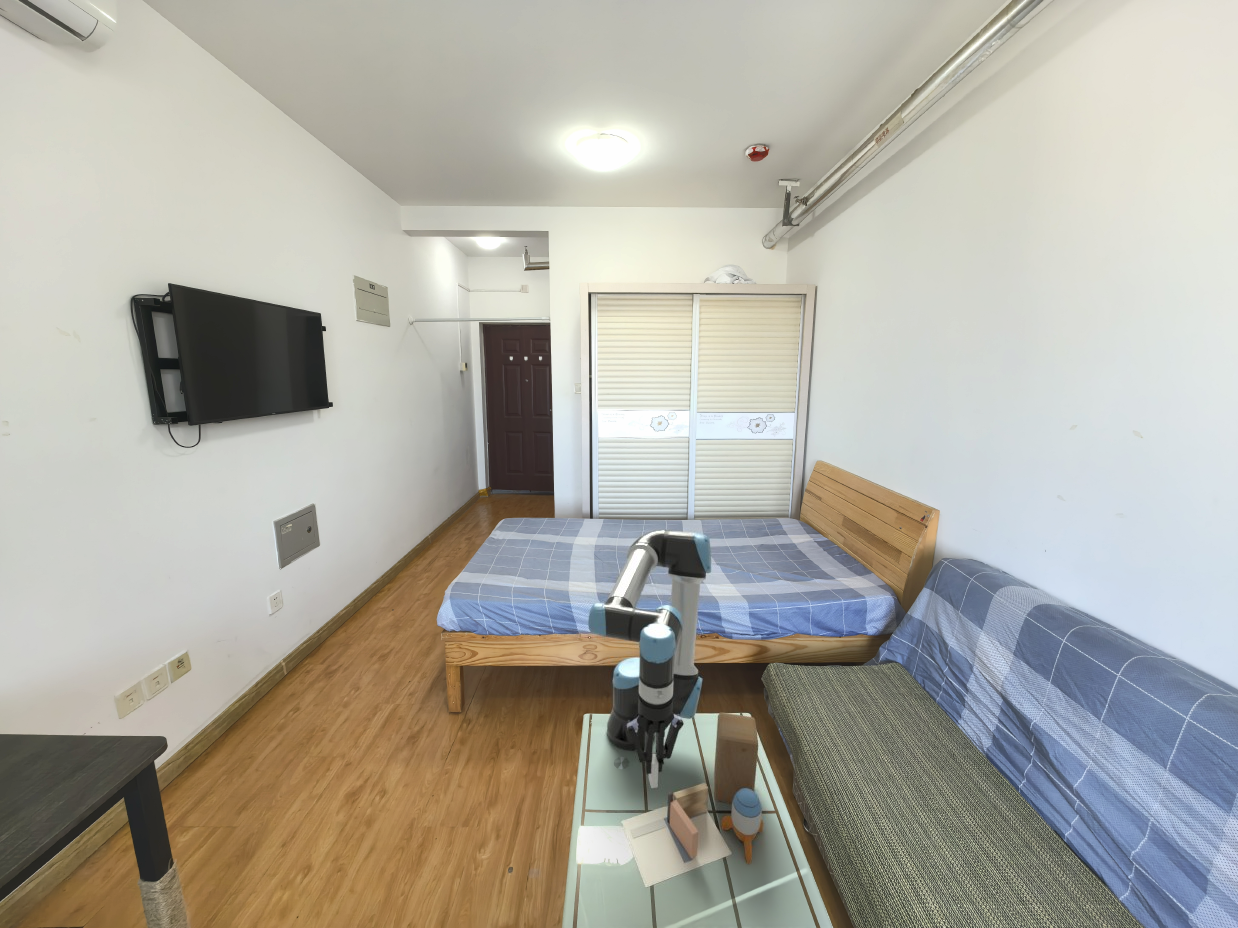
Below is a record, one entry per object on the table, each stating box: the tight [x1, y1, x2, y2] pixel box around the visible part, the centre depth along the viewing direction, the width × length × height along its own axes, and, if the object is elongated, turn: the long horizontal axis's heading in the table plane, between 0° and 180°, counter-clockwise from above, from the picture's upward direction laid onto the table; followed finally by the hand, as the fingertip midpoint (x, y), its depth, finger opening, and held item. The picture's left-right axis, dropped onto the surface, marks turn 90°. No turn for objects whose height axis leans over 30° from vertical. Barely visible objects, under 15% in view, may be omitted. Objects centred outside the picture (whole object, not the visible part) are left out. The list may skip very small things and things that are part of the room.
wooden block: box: [713, 712, 759, 805], centre depth 124 cm, size 10×10×20 cm
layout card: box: [620, 805, 733, 888], centre depth 112 cm, size 16×22×1 cm
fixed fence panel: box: [667, 782, 709, 823], centre depth 117 cm, size 11×2×9 cm, turn 109°
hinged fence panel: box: [670, 800, 698, 859], centre depth 110 cm, size 9×2×7 cm, turn 28°
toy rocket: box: [720, 788, 764, 865], centre depth 112 cm, size 10×11×15 cm
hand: (653, 782), depth 107 cm, fingers closed
